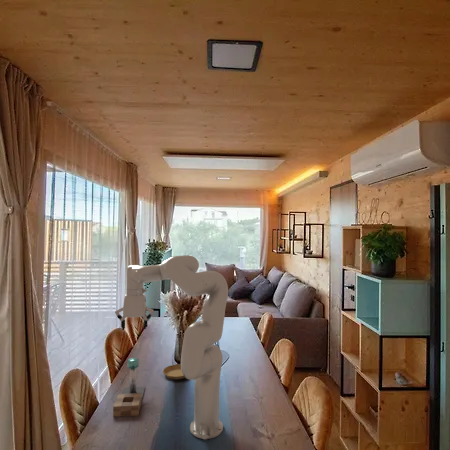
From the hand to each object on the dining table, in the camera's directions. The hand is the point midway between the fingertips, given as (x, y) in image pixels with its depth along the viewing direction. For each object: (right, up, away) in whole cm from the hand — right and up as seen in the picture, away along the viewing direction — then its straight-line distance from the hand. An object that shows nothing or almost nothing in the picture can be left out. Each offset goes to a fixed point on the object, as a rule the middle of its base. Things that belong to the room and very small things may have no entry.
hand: (134, 328), depth 149 cm
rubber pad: (-1, -30, 0) cm, 30 cm away
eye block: (+1, -30, -13) cm, 32 cm away
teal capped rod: (-1, -29, 0) cm, 29 cm away
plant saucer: (+17, -31, +20) cm, 41 cm away
